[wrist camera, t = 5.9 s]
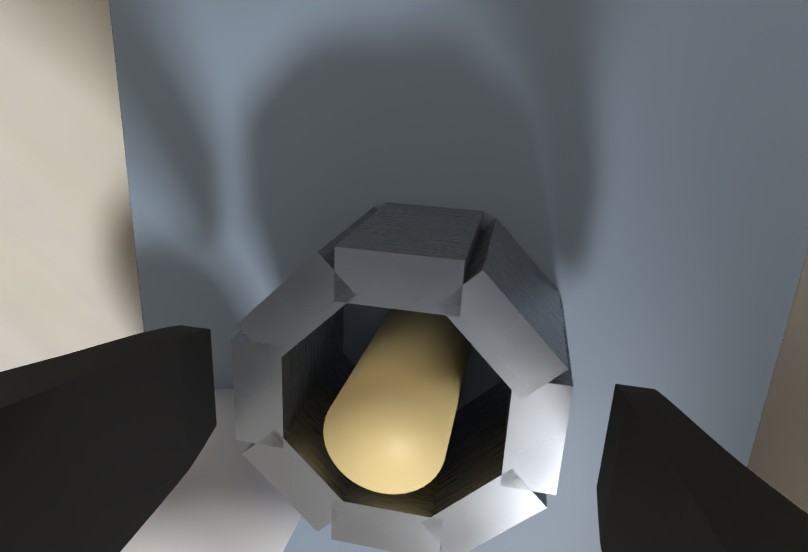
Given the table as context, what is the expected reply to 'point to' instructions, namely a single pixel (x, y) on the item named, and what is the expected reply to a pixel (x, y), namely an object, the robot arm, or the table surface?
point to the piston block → (473, 190)
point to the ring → (473, 424)
